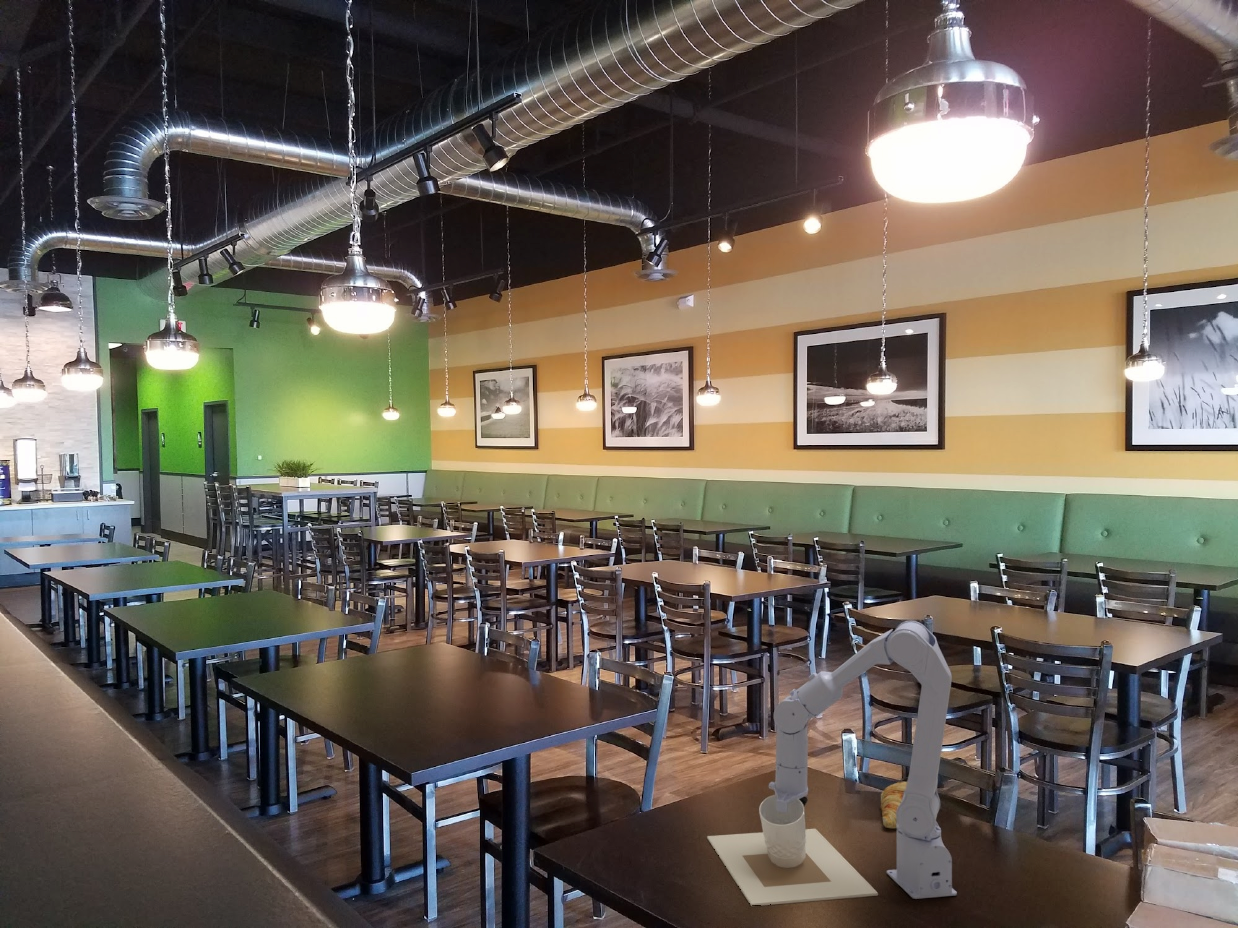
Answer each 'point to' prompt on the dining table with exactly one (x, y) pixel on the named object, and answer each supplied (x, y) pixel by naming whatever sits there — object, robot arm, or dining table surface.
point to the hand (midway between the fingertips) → (789, 836)
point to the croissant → (891, 803)
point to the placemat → (789, 871)
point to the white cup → (784, 832)
